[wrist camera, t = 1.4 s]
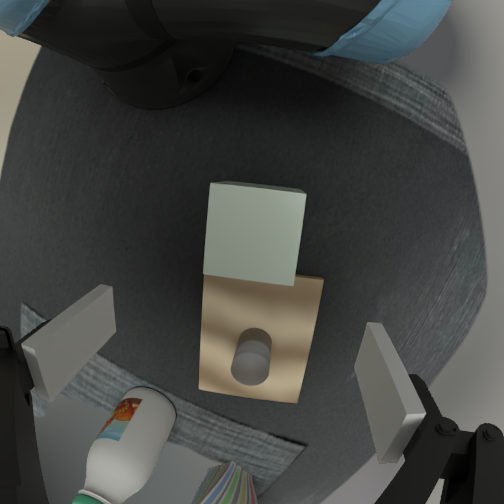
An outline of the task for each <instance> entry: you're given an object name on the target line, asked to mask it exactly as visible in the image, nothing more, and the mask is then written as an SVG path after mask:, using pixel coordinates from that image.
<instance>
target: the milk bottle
mask: <svg viewBox="0 0 504 504" xmlns="http://www.w3.org/2000/svg"><path fill="white" fill-rule="evenodd" d="M175 419H176V413H175V409H174V407H173V405H172V404H171V402H170V401H169V400H168V399H167V398H166V397H165V396H164V395H162V394H161V393H159V392H157V391H155V390H153V389H150V388H145V387H138V388H134V389H131V390H130V391H128V392H127V393H126V395H125V396H124V397H123V399H122V400H121V402H120V403H119V405H118V406H117V408H116V409H115V410H114V412H113V413H112V415H111V416H110V418H109V419H108V421H107V422H106V424H105V425H104V427H103V428H102V430H101V431H100V433H99V434H98V436H97V438H96V439H95V441H94V443H93V445H92V446H91V449H90V451H89V454H88V459H87V475H86V481H85V486H84V488H83V490H80V491H79V493H78V495H76V497H75V498H74V501H73V502H72V504H122V503H123V501H125V500H126V499H127V498H129V497H130V496H131V495H133V494H134V493H136V492H137V491H139V490H140V489H141V488H142V487H143V486H144V485H145V483H146V482H147V481H148V479H149V477H150V475H151V474H152V472H153V470H154V468H155V465H156V463H157V461H158V459H159V456H160V454H161V452H162V450H163V448H164V445H165V443H166V441H167V439H168V436H169V434H170V432H171V429H172V427H173V425H174V422H175Z"/></svg>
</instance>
